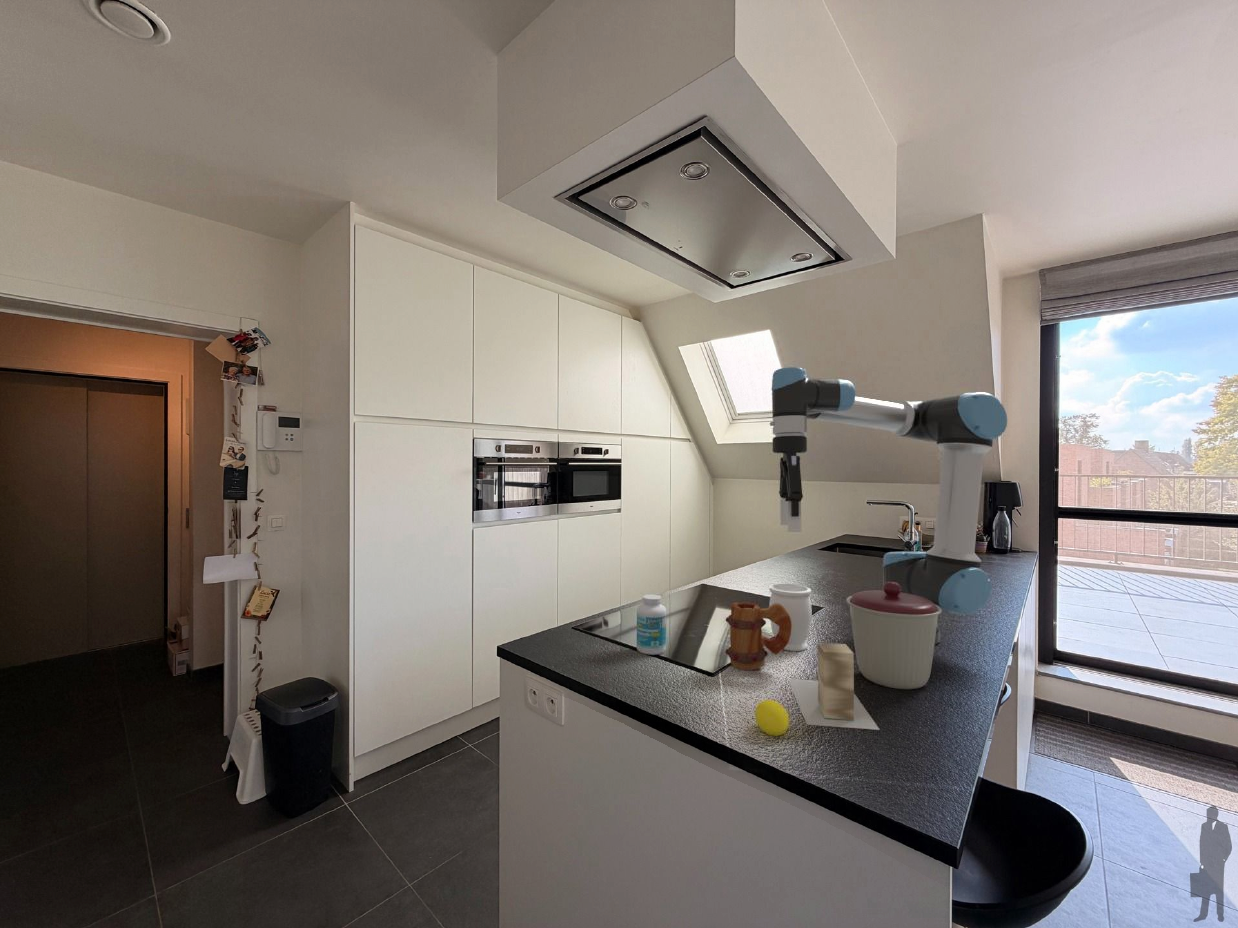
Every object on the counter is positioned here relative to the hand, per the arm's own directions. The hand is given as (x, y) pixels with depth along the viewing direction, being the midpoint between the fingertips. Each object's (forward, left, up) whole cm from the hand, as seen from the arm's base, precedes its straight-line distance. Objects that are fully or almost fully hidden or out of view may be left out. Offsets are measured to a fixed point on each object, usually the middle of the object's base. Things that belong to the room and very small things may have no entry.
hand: (790, 528), depth 118 cm
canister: (-20, +4, -32) cm, 38 cm away
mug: (+8, +2, -32) cm, 33 cm away
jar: (-2, -15, -32) cm, 36 cm away
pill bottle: (+33, -6, -32) cm, 46 cm away
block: (-4, +23, -31) cm, 39 cm away
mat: (-4, +18, -32) cm, 37 cm away
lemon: (+9, +31, -32) cm, 45 cm away
